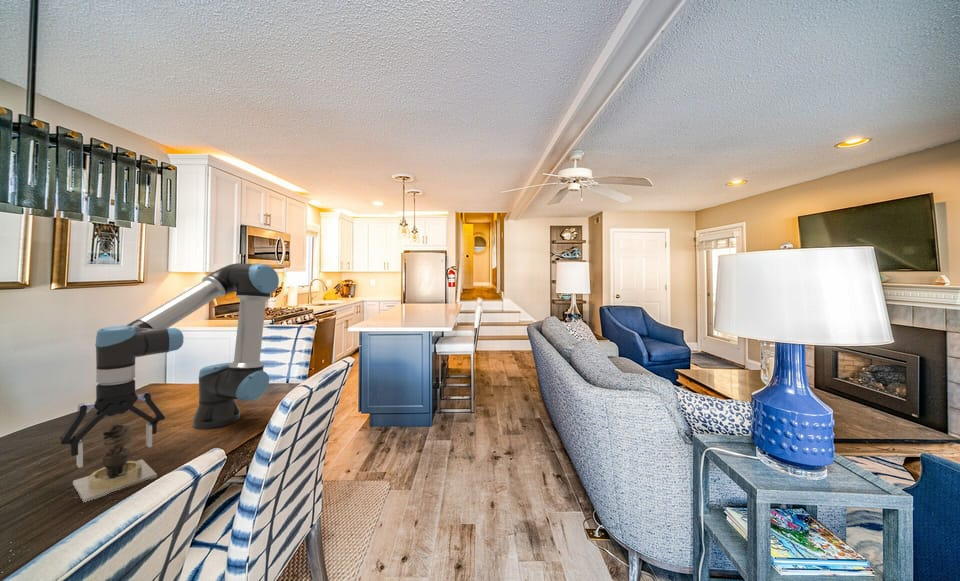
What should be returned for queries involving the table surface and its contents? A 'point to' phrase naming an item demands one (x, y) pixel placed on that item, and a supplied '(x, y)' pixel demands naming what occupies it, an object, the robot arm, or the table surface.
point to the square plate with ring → (112, 480)
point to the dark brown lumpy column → (116, 448)
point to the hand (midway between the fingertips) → (116, 455)
